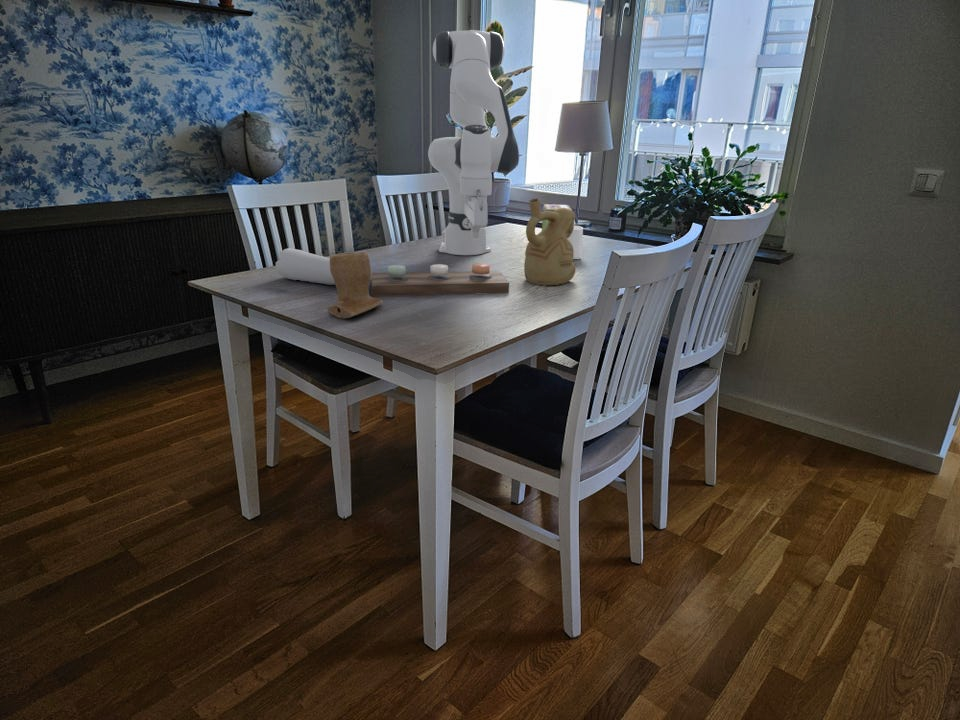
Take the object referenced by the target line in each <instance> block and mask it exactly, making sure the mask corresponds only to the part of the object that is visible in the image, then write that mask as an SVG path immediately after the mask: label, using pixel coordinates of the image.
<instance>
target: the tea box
mask: <svg viewBox="0 0 960 720" xmlns="http://www.w3.org/2000/svg"><path fill="white" fill-rule="evenodd" d="M542 206H543V207H542V212H544V211H551V212H554V211H555V210H557V209H559V208H567V209H569V210H571V211H572V212H573V209H572V208H571V207H570V205H568V204H548V203H547V204H546V203H544V204H543V205H542ZM547 222H548V220H547V219H546V220H542V221H541V231H542V230H543V229H544V228H545V227H546V225H547Z"/></svg>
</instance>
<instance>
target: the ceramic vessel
mask: <svg viewBox="0 0 960 720" xmlns="http://www.w3.org/2000/svg"><path fill="white" fill-rule="evenodd" d="M540 202H541V200H540V199H539V198H532V199H529V200H528V204H529V209H530V218H529V220H528V221H527V224H526V227H525V228H526V229H525V236H526V239H527V241H528V243H527V245H526V247H525V252H524V255H525V256H524V257H525V258H524V265H523V267H524V268H523V269H524V272H523V273H524V277H525V279H526V281H528V283H531V284H532V283H533V285H536V284H538V285H537V286H542V285H556V286H560V285H559V284H562V285H565V284H567V283H569V280H570V281H571V280H572V279H573V278H574V276H575V274H576V270H577V269H576V266H575V264H574V263H573V261H574V260H573V255H574V251H573V246H572V244H571V243H570V242H569V241H568V239H567V238H568V237H570V235H571V234H572V232H573V229H574V226H575V220H576V214H575V212H573V210H572V211H571V210H569V209H567V208H559V209H557V210H555V211H554V212H551V211H544V212H543V211H541V206H540V205H541V203H540ZM546 219H547V220H548V222H547V225H546V227H545V228H544V229H543V230H542V229H541V231H540V232H538V233H537V234H536V226H537V225H538V223H540V222H542V220H546ZM564 283H565V284H564Z"/></svg>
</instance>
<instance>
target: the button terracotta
mask: <svg viewBox="0 0 960 720" xmlns="http://www.w3.org/2000/svg"><path fill="white" fill-rule="evenodd" d="M471 267H472V268H471V271H472V273H474V274H480V275H483V274H489V271H491V269H490V267H491V266H490V265H489V264H487V263H474V264H472V265H471Z"/></svg>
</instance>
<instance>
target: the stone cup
mask: <svg viewBox="0 0 960 720" xmlns="http://www.w3.org/2000/svg"><path fill="white" fill-rule="evenodd" d="M329 258H330V271H331V274H332V277H333V279H334V282H335V285H334V286H335V288H336V290H337V293H338V294H337V295H338V299H337V301H335V302H334V303H333V304H331V305H329V306H327V307H326V310H327V311H328V312H329V313H330V314H331V315H333V316H334V317H336V318H338V319H350V318H352V317H354V316H358V315H360V314H363V313H366V312H369V311H370V310H373V309H374V308H377V307H379V306H381V305H382V304H383V303H384V301H383V300H382V299H380V298H376V297H374V296H370V293H369V287H370V285H369V282H370V277H371V274H372V272H371V271H372V270H371V262H370V257H369V255H368V253H367V252H365V251H359V252H358V251H354V252H353V251H352V252H340V253H334V254H332V255H330V257H329Z"/></svg>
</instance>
